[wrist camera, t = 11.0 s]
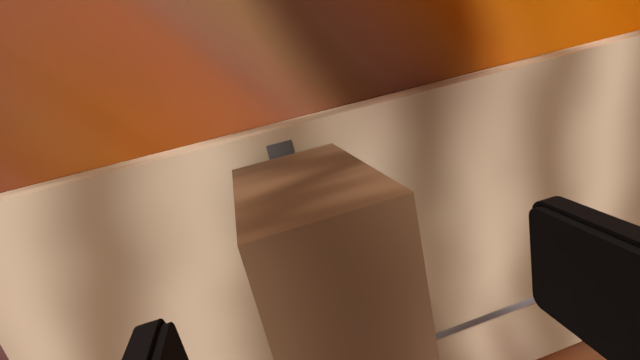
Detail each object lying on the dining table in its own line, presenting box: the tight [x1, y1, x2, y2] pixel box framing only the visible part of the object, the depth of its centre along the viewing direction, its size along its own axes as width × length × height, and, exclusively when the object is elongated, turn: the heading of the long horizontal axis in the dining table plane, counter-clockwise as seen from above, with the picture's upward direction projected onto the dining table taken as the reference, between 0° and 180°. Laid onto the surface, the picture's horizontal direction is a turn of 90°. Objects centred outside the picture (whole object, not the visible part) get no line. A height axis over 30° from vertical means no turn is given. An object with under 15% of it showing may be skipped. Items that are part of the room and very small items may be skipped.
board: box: [0, 30, 640, 360], centre depth 19 cm, size 36×16×2 cm, turn 104°
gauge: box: [232, 143, 440, 360], centre depth 13 cm, size 4×13×7 cm, turn 14°
